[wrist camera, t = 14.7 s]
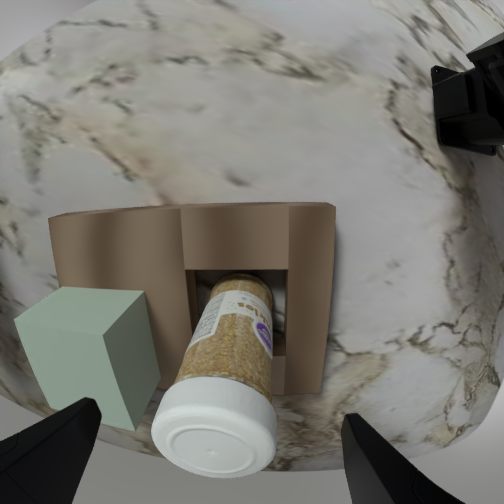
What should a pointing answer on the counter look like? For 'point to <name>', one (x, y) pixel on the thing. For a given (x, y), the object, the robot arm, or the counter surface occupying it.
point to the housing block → (93, 351)
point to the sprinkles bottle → (223, 387)
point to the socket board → (209, 258)
